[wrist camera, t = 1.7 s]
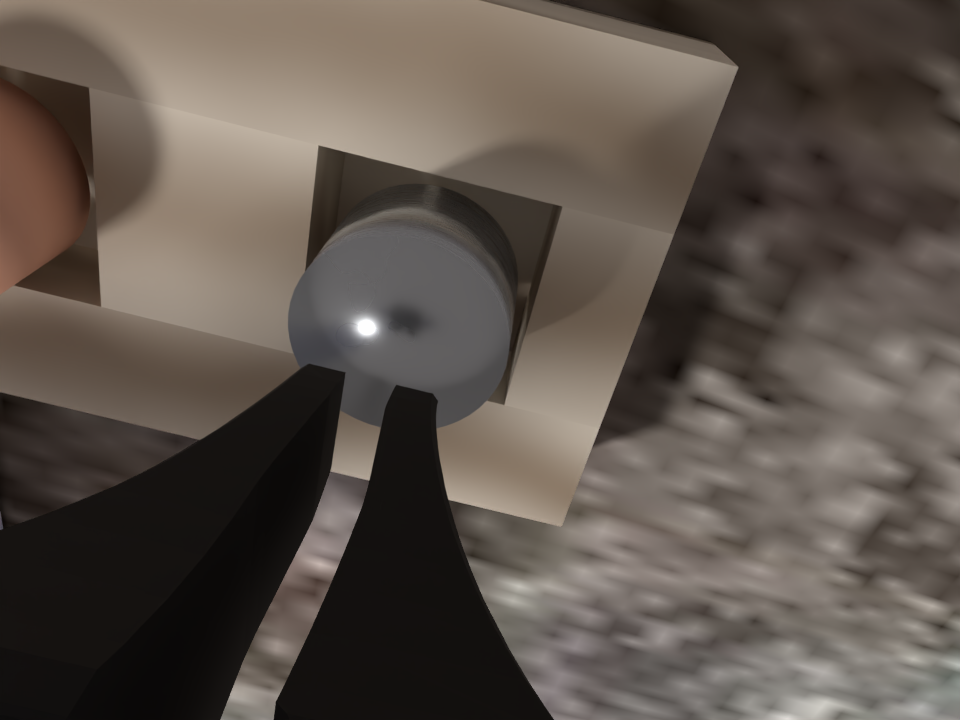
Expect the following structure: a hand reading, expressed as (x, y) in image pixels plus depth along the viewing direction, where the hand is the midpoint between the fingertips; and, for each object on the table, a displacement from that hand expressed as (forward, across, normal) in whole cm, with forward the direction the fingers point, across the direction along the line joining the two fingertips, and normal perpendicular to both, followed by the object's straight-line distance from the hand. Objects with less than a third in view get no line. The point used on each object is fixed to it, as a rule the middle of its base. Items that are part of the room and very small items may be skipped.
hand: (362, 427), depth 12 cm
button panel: (+8, +5, 0) cm, 10 cm away
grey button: (+6, 0, 0) cm, 6 cm away
